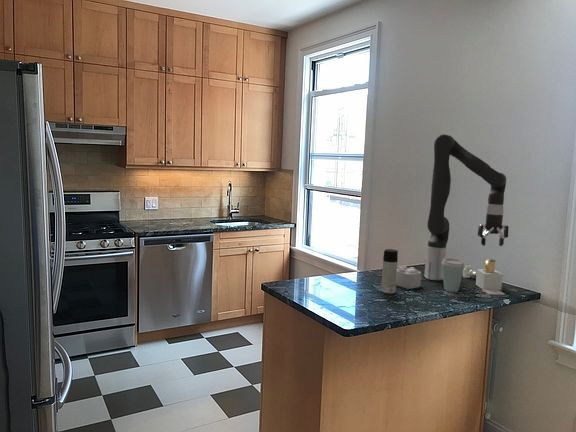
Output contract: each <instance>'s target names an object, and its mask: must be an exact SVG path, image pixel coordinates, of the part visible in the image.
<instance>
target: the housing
mask: <svg viewBox="0 0 576 432" xmlns="http://www.w3.org/2000/svg"><path fill="white" fill-rule="evenodd" d="M476 273H477V276H476V277H475V278H476V279H475V285H476V286H477V287H479V288H480V289H481V290H482V291H483V290H499V291H502V287H503V275H504V274H503V273H501V272H500V271H498V270H496V269H495V271H494V273H486V272H485V268H484V269H482V268H480V269H476Z"/></svg>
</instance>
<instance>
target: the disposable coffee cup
mask: <svg viewBox="0 0 576 432" xmlns="http://www.w3.org/2000/svg"><path fill="white" fill-rule="evenodd" d="M465 265H466V263H464V261H463V260H460V259H457V258H453V257H445V258H444V259H443V261H442V269H443V280H442V282H443V288H444V290H445V292H446V291H447V292H451V293H454V292H455V293H456V292H458V291H459V290H460V286H461V281H462V277H463V269H464V266H465Z"/></svg>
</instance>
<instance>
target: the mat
mask: <svg viewBox="0 0 576 432" xmlns="http://www.w3.org/2000/svg"><path fill="white" fill-rule="evenodd" d="M482 292H484V293H486V294H487V295H491V296H492V295H494V296H495V295H497V296H506V293H504V292H503V291H502V290H483V289H482Z"/></svg>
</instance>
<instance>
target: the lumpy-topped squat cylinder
mask: <svg viewBox="0 0 576 432" xmlns="http://www.w3.org/2000/svg"><path fill="white" fill-rule="evenodd" d="M421 280H422V271H420V270H418V269H417V268H415V267H414V266H411V267H407V266H405V265H404V266H403V265H402V266H398V267H397V276H396V286H397V287H398V286H399V287H401V288H405V289H409V288H411V289H412V288H413V289H416V288H420V287H421V283H422V281H421ZM411 289H410V290H411Z"/></svg>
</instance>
